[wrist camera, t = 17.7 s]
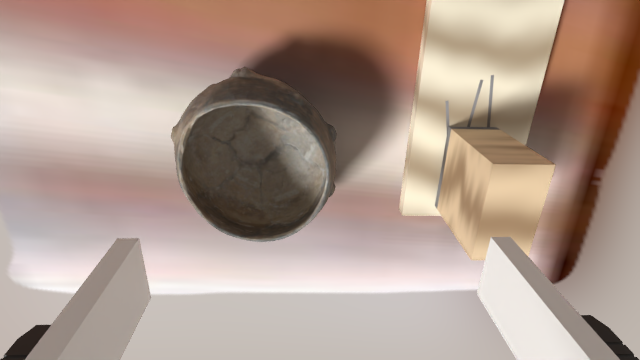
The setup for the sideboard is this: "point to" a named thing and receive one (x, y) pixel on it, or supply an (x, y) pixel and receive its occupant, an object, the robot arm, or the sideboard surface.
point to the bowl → (254, 157)
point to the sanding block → (491, 188)
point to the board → (473, 81)
